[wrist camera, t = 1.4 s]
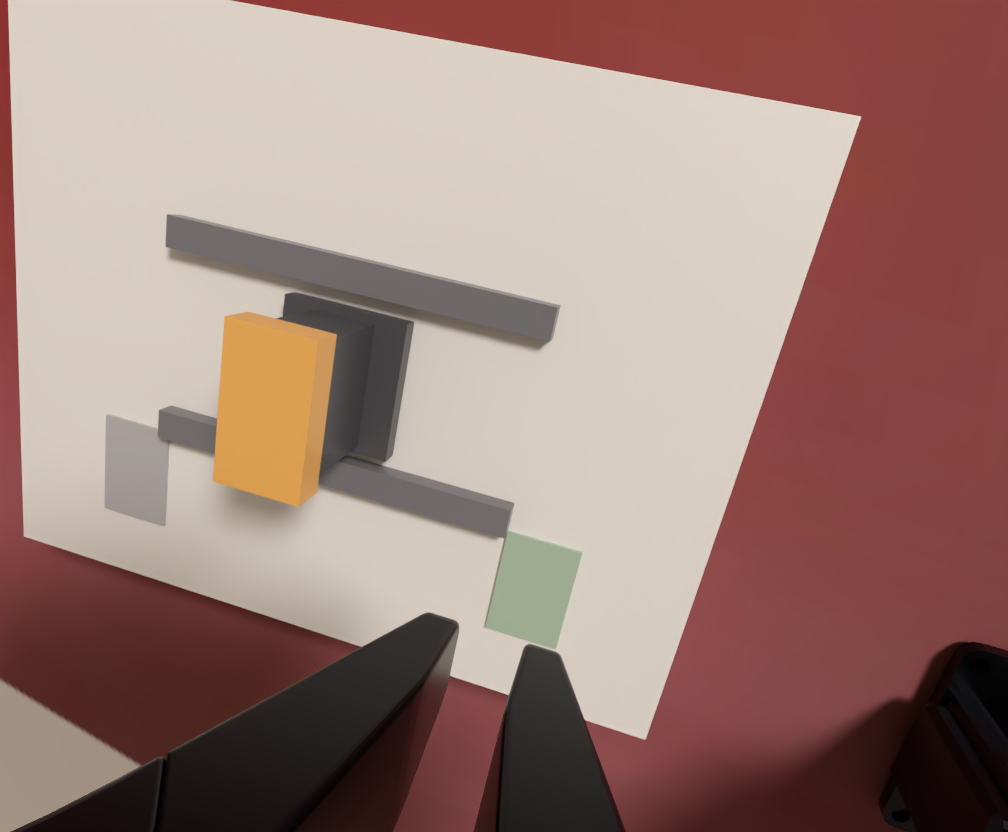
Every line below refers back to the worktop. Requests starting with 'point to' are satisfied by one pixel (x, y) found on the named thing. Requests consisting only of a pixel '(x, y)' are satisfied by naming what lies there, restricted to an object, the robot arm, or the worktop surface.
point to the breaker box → (411, 296)
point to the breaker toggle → (306, 394)
